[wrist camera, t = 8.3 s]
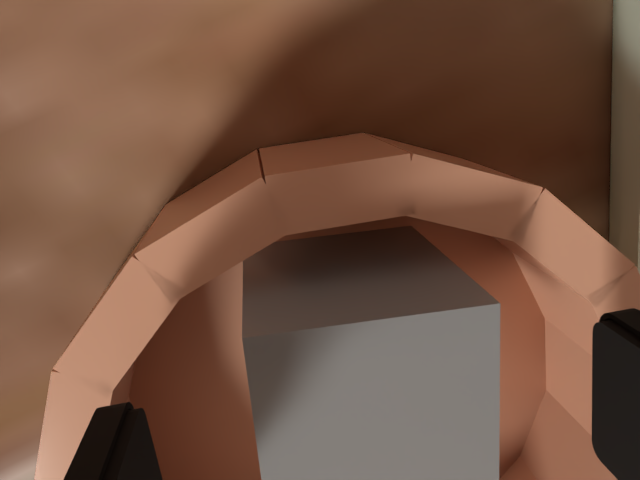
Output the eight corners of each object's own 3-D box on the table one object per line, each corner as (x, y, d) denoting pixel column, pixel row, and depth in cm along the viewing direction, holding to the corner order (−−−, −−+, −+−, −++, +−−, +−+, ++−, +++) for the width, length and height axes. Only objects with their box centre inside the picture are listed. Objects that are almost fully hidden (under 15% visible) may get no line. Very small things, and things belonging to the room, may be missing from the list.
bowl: (32, 182, 14) (-59, 226, 10) (567, 101, 15) (691, 109, 11) (155, 611, 18) (128, 773, 14) (569, 520, 20) (660, 643, 15)
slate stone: (243, 245, 15) (241, 338, 9) (410, 225, 15) (500, 303, 10) (262, 396, 16) (271, 553, 11) (417, 373, 16) (498, 513, 11)
